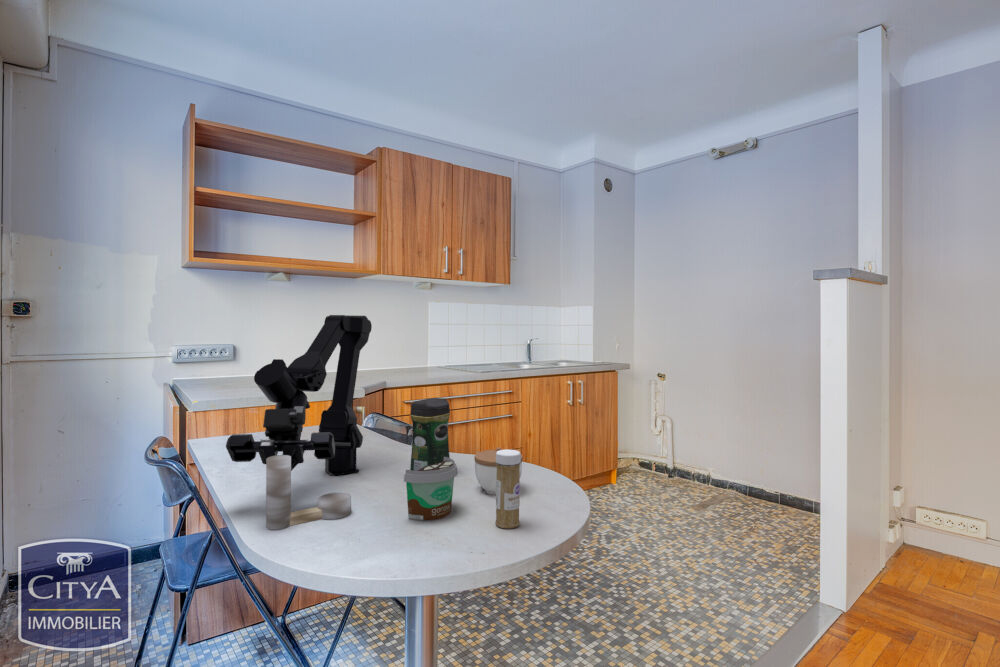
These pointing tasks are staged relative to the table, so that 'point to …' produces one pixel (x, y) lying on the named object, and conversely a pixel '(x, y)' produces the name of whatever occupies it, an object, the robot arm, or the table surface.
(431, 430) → the coffee jar
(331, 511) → the crank handle
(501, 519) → the sprinkles bottle
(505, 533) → the table surface
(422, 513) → the food container
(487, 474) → the lidded jar
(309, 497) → the table surface
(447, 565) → the table surface
